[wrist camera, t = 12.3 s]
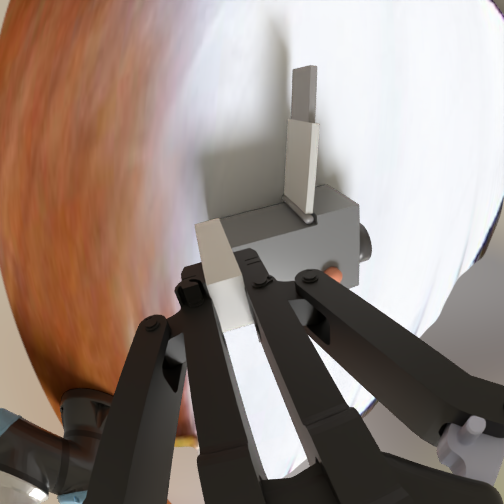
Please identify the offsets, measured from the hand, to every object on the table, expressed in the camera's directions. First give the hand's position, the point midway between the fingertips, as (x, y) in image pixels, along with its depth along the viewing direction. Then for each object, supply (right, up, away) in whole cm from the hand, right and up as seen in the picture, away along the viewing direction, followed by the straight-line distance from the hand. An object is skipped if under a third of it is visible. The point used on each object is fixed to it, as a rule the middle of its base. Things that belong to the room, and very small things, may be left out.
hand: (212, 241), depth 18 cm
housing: (+7, +2, +22) cm, 23 cm away
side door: (+7, +13, +16) cm, 22 cm away
